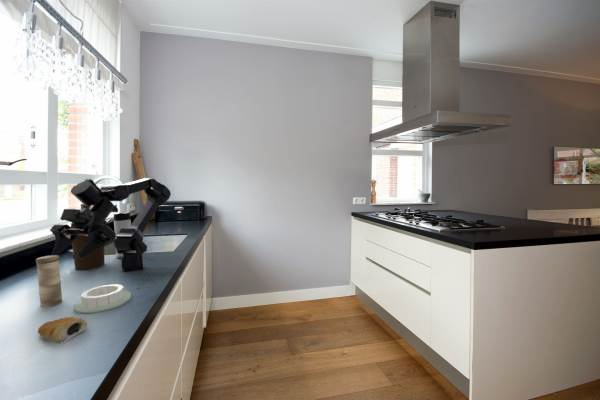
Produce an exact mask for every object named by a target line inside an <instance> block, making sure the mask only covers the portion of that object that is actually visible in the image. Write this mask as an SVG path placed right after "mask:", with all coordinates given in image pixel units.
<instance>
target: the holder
mask: <svg viewBox="0 0 600 400" xmlns="http://www.w3.org/2000/svg"><path fill="white" fill-rule="evenodd" d="M80 298H81V299H80V300H78V301H76V302H75V303H74V304H73V311H74V312H76V313H78V314H94V313H95V314H96V313H101V312H105V311H109V310H112V309H116V308H117V307H120V306H123V305H124V304H126V303H128V302H129V301H130V299H131V298H132V293H131V292H130V291H128V290H124V285H122V284H117V283H115V284H105V285H99V286H95V287H93V288H90V289H87V290H85V291H83V292H82V293H81V296H80Z"/></svg>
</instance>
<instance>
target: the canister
mask: <svg viewBox="0 0 600 400" xmlns="http://www.w3.org/2000/svg"><path fill="white" fill-rule="evenodd" d="M35 263H36V272H37V281H38V282H37V285H38V291H39V294H38V295H39V302H40V303H39V304H40V308H49V307H53V306H57V305H59V304H61V303H62V302H63V296H62V285H61V284H62V282H61V271H60V270H61V269H60V255H52V254H51V255H45V256H41V257H38V258H36V259H35Z"/></svg>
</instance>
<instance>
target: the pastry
mask: <svg viewBox="0 0 600 400" xmlns="http://www.w3.org/2000/svg"><path fill="white" fill-rule="evenodd" d="M87 328H88V322H87V321H86V320H85V319H84V318H83V319H82V318H80V317H74V316H66V317H60V318H57V319H55V320H51V321H47V322H44V323H43V324H42V325H40V326H39V328H38V329H37V334H39V336H40V337H41V338H42V339H43V341H46V342H49V341H50V342H49V343H52V342H53V343H52V344H62V343H61V342H63V343H64V341H65V342H67V341H66V340H68V341H70V340H72V339H73V338H75V337H76V336H78V335H80V334H82V333H83V332H84V331H85V330H86V329H87ZM74 336H75V337H74ZM72 337H73V338H72ZM71 338H72V339H71ZM69 339H70V340H69Z"/></svg>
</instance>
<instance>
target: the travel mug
mask: <svg viewBox="0 0 600 400" xmlns="http://www.w3.org/2000/svg"><path fill="white" fill-rule="evenodd" d="M131 224H132V221H131V213H129V212H125V213H124V212H119V213H114V214H113V226H114V232H115V233H116V235H117V234H118V233H119V231H120V230H121V229H122V228H129V227H130V226H131ZM115 239H116V237H115ZM115 239H114V240H115ZM121 257H123V254H118V252H117V250H116V249H115V258H116V259H119V258H121Z"/></svg>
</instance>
